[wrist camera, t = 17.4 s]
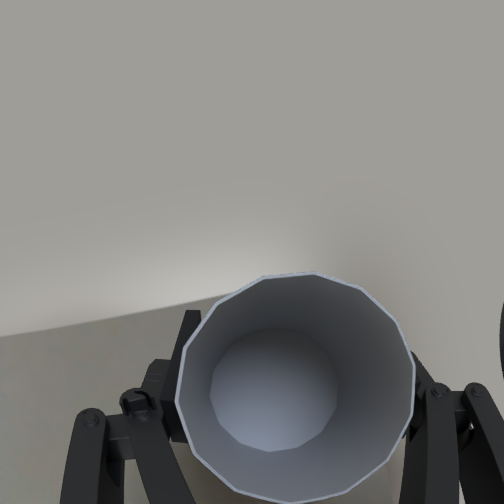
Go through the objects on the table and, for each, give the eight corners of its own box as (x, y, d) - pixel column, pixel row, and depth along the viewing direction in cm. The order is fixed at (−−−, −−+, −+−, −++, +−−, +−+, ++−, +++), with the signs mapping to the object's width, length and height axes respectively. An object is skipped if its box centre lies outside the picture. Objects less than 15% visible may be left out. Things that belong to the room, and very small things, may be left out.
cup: (293, 471, 15) (337, 533, 6) (184, 408, 17) (129, 421, 8) (358, 365, 19) (444, 337, 10) (255, 306, 20) (266, 232, 11)
